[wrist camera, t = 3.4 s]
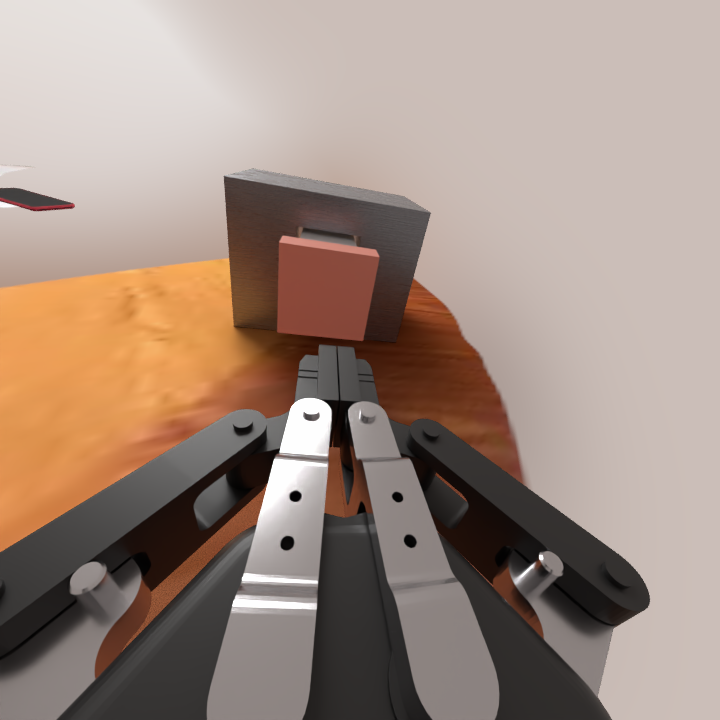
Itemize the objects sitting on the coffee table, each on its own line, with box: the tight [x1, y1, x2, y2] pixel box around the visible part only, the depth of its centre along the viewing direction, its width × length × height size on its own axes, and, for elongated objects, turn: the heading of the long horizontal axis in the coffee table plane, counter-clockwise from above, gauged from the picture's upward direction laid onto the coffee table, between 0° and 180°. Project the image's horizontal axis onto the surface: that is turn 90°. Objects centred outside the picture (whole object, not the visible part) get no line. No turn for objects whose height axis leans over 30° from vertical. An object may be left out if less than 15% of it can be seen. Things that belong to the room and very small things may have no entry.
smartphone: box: [0, 188, 75, 211], centre depth 58 cm, size 7×1×15 cm
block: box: [224, 169, 431, 343], centre depth 35 cm, size 18×12×14 cm, turn 95°
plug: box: [277, 228, 380, 341], centre depth 29 cm, size 7×14×7 cm, turn 5°
